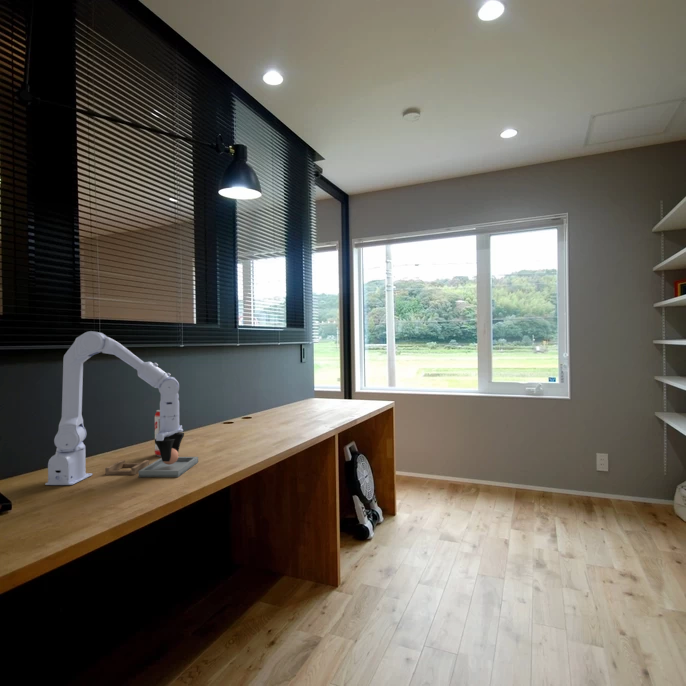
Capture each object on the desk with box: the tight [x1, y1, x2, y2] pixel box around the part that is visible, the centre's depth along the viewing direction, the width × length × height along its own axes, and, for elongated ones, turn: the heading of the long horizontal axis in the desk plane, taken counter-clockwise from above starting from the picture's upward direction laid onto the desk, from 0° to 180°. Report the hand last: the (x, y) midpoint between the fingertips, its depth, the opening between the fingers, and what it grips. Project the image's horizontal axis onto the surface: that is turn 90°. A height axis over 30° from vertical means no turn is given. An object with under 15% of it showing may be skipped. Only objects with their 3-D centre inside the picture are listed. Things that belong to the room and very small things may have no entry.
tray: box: [138, 456, 199, 478], centre depth 134 cm, size 16×12×2 cm
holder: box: [104, 459, 150, 476], centre depth 133 cm, size 9×9×2 cm
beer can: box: [154, 409, 161, 458], centre depth 152 cm, size 6×6×16 cm
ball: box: [163, 448, 180, 464], centre depth 134 cm, size 5×5×5 cm
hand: (170, 458), depth 134 cm, fingers closed on ball, 5 cm apart
